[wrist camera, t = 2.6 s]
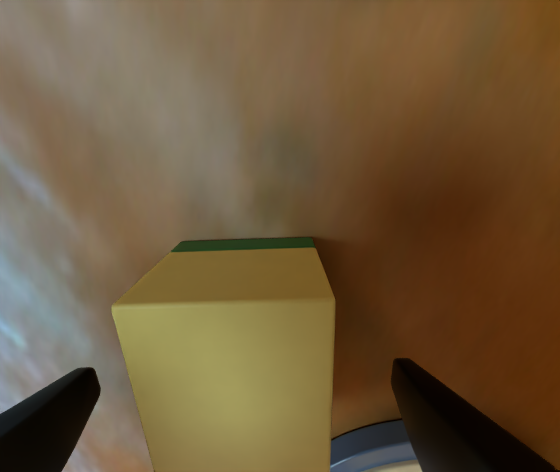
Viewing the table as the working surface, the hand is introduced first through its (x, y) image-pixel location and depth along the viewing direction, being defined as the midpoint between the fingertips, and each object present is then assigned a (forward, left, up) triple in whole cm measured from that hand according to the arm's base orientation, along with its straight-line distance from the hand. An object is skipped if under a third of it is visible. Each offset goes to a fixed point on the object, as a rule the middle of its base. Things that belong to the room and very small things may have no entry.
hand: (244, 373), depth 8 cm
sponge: (0, 0, -2) cm, 2 cm away
